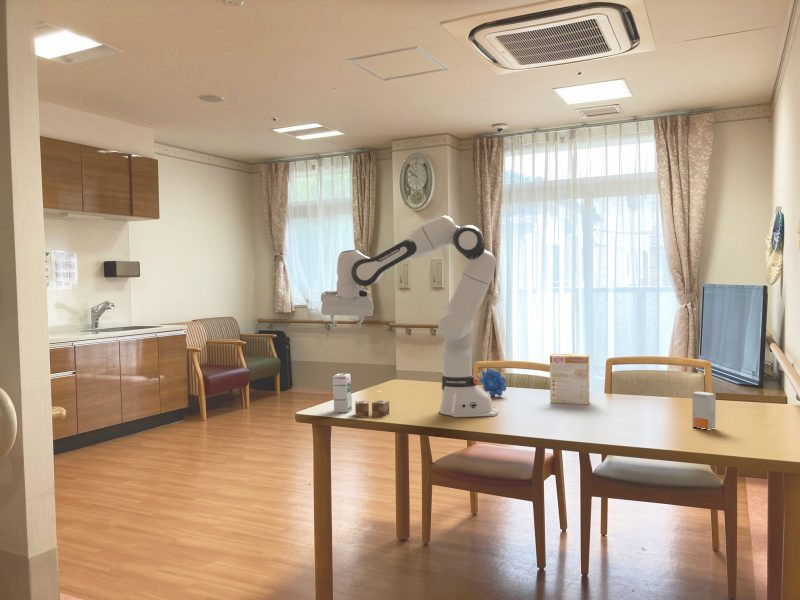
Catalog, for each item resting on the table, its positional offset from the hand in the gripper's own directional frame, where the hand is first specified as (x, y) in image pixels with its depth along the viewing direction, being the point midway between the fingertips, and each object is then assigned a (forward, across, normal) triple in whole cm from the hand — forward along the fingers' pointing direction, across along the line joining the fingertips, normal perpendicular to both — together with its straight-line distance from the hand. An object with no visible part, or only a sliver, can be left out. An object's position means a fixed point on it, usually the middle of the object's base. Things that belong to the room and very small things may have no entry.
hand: (347, 327), depth 253 cm
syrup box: (+33, -1, 0) cm, 33 cm away
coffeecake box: (+30, +91, +4) cm, 96 cm away
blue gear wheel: (+31, +63, +20) cm, 73 cm away
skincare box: (+27, +121, -45) cm, 132 cm away
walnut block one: (+33, +7, -9) cm, 35 cm away
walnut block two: (+32, +14, -9) cm, 36 cm away
